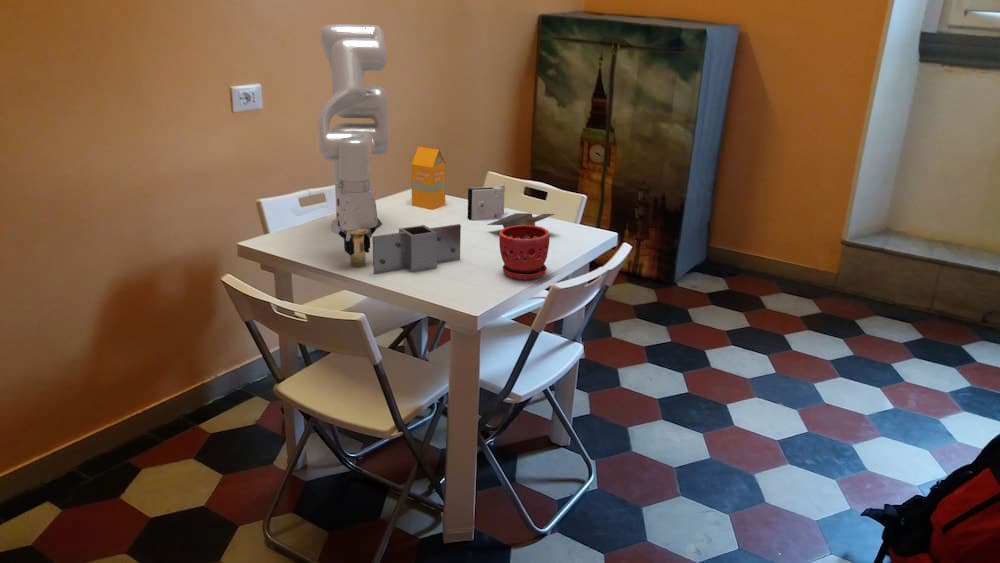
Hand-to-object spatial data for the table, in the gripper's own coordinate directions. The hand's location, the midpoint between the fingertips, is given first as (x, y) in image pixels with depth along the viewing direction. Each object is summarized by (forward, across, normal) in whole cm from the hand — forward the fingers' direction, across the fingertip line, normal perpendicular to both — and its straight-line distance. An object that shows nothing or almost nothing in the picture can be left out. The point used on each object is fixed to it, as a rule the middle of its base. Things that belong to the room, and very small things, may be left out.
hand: (357, 251), depth 209 cm
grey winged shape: (+4, +55, +4) cm, 55 cm away
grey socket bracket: (+4, +14, -8) cm, 17 cm away
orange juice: (+4, +44, +45) cm, 63 cm away
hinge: (+4, +55, +24) cm, 60 cm away
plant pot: (+4, +36, -26) cm, 45 cm away
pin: (+4, 0, 0) cm, 4 cm away
